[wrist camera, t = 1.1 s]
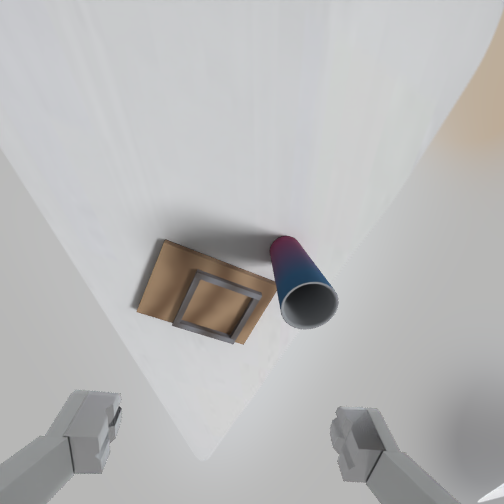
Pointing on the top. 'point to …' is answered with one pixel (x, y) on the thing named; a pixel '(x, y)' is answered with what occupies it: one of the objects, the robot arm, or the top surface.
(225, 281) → the board
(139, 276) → the top surface
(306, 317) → the cup
